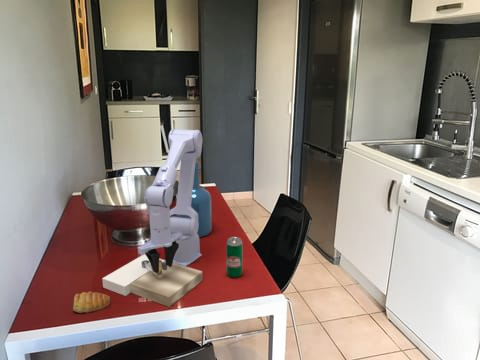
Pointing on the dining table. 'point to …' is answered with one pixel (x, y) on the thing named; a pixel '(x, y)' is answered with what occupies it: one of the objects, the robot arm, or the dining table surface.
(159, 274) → the bar
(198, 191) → the blue bottle
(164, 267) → the block
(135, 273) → the frame slab
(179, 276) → the slab
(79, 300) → the pastry
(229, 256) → the soda can
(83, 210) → the dining table surface
